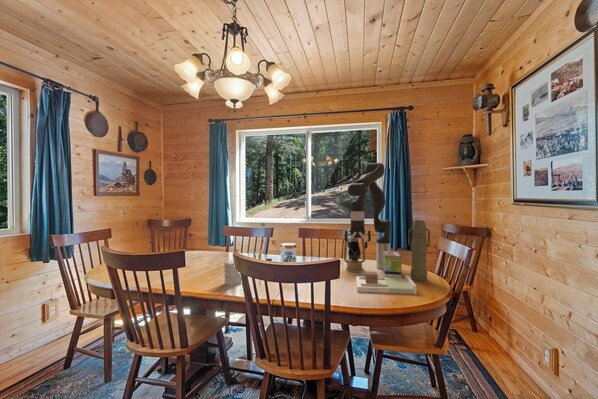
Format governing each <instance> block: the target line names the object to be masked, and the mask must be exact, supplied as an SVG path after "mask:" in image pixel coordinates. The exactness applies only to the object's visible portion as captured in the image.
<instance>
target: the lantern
mask: <svg viewBox="0 0 598 399" xmlns="http://www.w3.org/2000/svg"><path fill="white" fill-rule="evenodd" d="M343 235H344V238H343V239H344V240H343V241H344V247H343V261H344V262H345V263H347V264H346V265H347V266H346V268H345V270H346V271H348V272H354V273H358V272H359V273H360V272H364V267H363V263H364V262H365V261H366V249H365V241H364V239H363V238H362V237H361V238H360V240H361V245H362V247H361V246H360V244H359V238H354V237H353V238H352V239H351V241H350V249H349V248H347V247H348V242H347V241H345V234H343ZM351 235H352V234H351V233H348V234H347V239H349V237H350V236H351ZM361 248H362V249H361ZM347 249H348V250H347ZM361 250H362V251H361ZM347 254H348V260H347V258H346V257H347ZM361 255H363V256H362V258H361Z"/></svg>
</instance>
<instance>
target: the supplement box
mask: <svg viewBox="0 0 598 399" xmlns="http://www.w3.org/2000/svg"><path fill="white" fill-rule="evenodd" d="M223 268H224V284H225V285H227V286H230V287H234V286H237V285H240V284H242V283H241V277H240V274H239V273H238V272H237V271H236V270H235V267H234V262H233V260H228V261H224V267H223Z"/></svg>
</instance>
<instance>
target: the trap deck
mask: <svg viewBox="0 0 598 399" xmlns="http://www.w3.org/2000/svg"><path fill="white" fill-rule="evenodd" d="M404 276H405V277H401V278H388V277H384V276H383V277H382V276H378V284H373V283H366V280H365V276H360V275H359V276H358V275H357V276H355V283H356V290H357V292H359V293H361V292H362V293H382V294H383V293H384V294H386V293H387V294H403V295H404V294H405V295H407V294H409V295H417V294H418V293H417V285H416V283H414V282H415V281H414V280H412V279H411V277H410V276H409V275H404Z"/></svg>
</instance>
